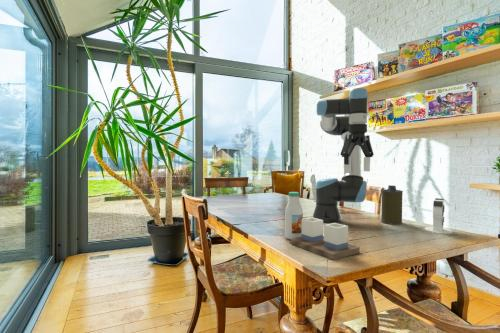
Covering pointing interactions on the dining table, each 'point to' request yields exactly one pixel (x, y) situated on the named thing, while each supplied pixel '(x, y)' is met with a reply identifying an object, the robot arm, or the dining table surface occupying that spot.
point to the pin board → (325, 248)
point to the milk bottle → (293, 217)
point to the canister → (391, 206)
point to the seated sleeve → (312, 229)
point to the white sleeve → (336, 236)
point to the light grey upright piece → (438, 218)
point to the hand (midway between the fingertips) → (357, 171)
